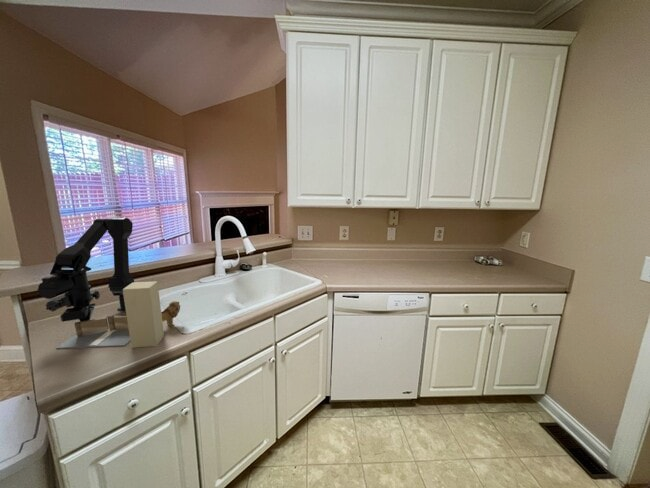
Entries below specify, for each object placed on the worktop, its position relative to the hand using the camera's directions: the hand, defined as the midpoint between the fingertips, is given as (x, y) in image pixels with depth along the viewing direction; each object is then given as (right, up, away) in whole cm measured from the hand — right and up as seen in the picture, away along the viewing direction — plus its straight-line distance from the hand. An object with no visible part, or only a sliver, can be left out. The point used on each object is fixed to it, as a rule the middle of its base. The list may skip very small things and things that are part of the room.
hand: (86, 326), depth 98 cm
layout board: (+8, -3, +1) cm, 9 cm away
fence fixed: (+13, -2, +3) cm, 13 cm away
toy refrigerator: (+26, -4, -4) cm, 26 cm away
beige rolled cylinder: (+3, -2, -1) cm, 4 cm away
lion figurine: (+25, -2, +5) cm, 26 cm away
